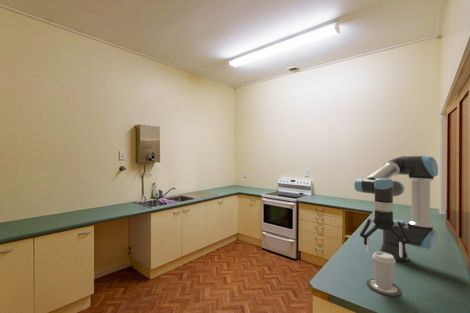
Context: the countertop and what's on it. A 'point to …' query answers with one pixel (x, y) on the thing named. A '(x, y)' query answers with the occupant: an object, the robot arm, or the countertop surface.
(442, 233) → the countertop surface
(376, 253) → the coffee cup
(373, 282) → the plate
